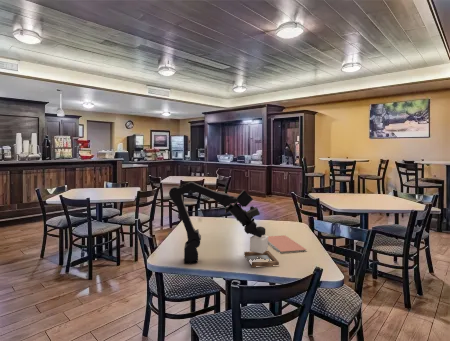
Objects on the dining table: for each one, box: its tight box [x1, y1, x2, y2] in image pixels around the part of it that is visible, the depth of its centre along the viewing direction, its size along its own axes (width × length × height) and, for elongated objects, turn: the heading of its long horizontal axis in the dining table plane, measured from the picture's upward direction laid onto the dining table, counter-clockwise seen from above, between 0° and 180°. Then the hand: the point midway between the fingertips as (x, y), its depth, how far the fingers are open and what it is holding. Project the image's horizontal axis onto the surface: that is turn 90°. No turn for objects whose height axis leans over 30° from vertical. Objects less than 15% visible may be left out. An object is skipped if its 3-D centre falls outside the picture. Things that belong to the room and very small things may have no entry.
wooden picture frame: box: [243, 250, 280, 268], centre depth 151 cm, size 14×16×2 cm
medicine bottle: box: [249, 225, 269, 254], centre depth 149 cm, size 7×7×12 cm
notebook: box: [267, 234, 307, 254], centre depth 176 cm, size 27×17×2 cm, turn 14°
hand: (260, 234), depth 149 cm, fingers closed on medicine bottle, 6 cm apart
